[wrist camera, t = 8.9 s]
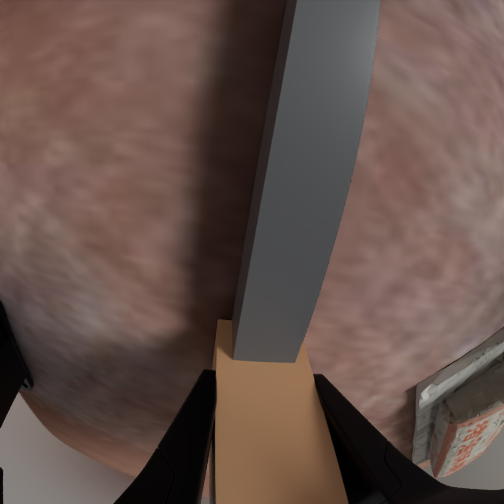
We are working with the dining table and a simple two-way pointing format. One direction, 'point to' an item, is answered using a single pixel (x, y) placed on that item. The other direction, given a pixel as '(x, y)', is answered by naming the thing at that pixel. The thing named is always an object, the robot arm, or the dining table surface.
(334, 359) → the dining table surface
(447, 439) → the packaged product
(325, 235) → the scraper
